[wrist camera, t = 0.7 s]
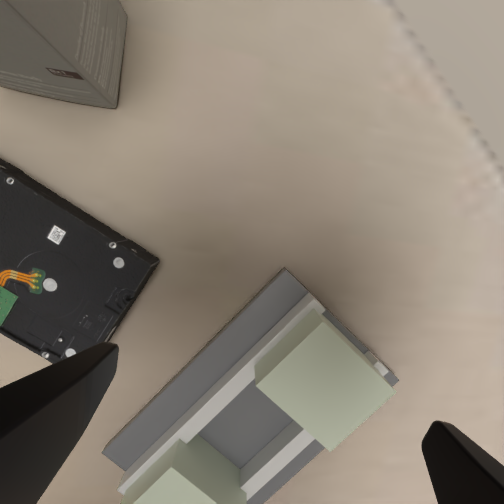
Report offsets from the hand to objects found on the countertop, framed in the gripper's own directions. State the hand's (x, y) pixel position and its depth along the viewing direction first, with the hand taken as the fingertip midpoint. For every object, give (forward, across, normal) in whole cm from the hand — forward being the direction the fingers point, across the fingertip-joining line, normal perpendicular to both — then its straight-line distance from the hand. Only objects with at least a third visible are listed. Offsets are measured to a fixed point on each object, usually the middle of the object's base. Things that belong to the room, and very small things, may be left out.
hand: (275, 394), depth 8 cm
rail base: (+12, -2, +13) cm, 18 cm away
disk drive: (+14, +16, +5) cm, 22 cm away
